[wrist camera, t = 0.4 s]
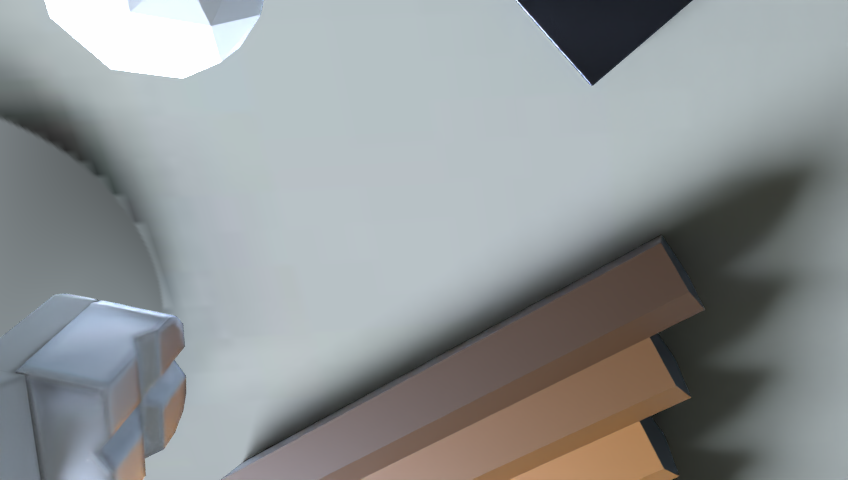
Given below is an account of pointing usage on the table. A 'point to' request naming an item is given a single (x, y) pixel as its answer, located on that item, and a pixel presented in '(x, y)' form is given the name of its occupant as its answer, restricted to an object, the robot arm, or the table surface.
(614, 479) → the pan flute
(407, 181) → the table surface
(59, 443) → the robot arm
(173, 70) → the geometric ball
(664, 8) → the black lever stand
